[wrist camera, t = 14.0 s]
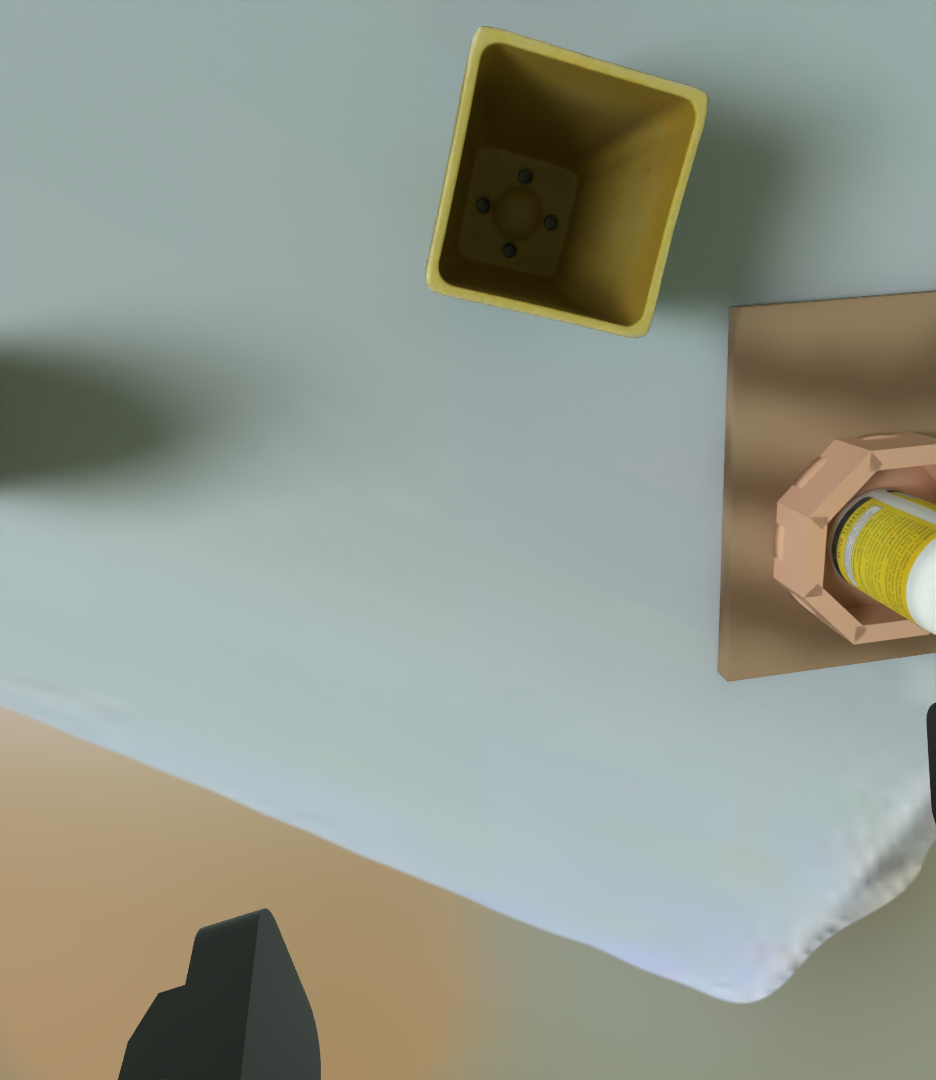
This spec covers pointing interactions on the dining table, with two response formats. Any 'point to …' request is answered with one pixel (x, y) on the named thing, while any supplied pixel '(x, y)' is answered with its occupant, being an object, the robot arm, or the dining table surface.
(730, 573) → the walnut board
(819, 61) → the dining table surface
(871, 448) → the octagonal planter bowl
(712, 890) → the dining table surface
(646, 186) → the flower pot
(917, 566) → the supplement bottle
